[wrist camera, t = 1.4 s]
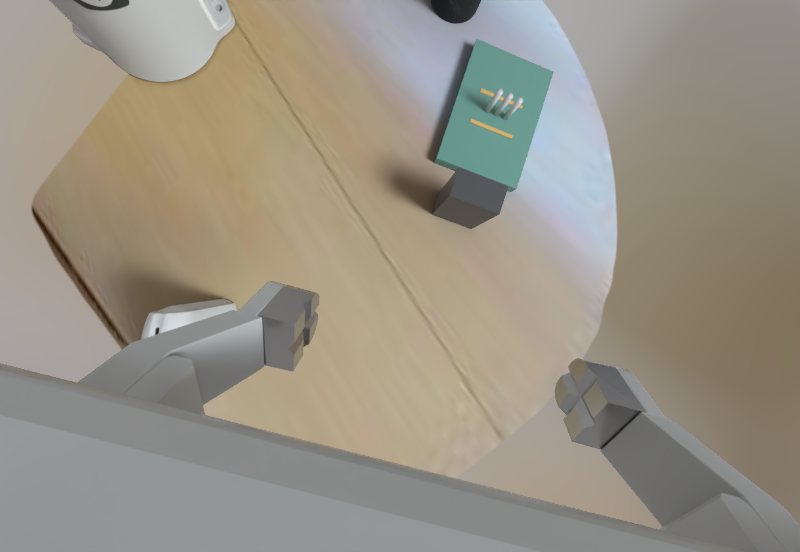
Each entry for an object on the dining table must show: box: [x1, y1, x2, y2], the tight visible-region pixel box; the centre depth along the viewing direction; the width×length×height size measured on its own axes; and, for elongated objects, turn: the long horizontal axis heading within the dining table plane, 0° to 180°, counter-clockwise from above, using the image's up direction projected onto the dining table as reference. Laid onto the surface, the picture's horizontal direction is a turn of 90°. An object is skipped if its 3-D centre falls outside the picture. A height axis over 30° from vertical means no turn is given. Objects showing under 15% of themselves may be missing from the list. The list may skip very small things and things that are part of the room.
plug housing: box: [432, 167, 508, 229], centre depth 37 cm, size 6×3×9 cm, turn 71°
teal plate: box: [434, 39, 553, 192], centre depth 39 cm, size 12×18×6 cm, turn 161°
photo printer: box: [141, 299, 237, 339], centre depth 32 cm, size 10×4×12 cm, turn 179°
